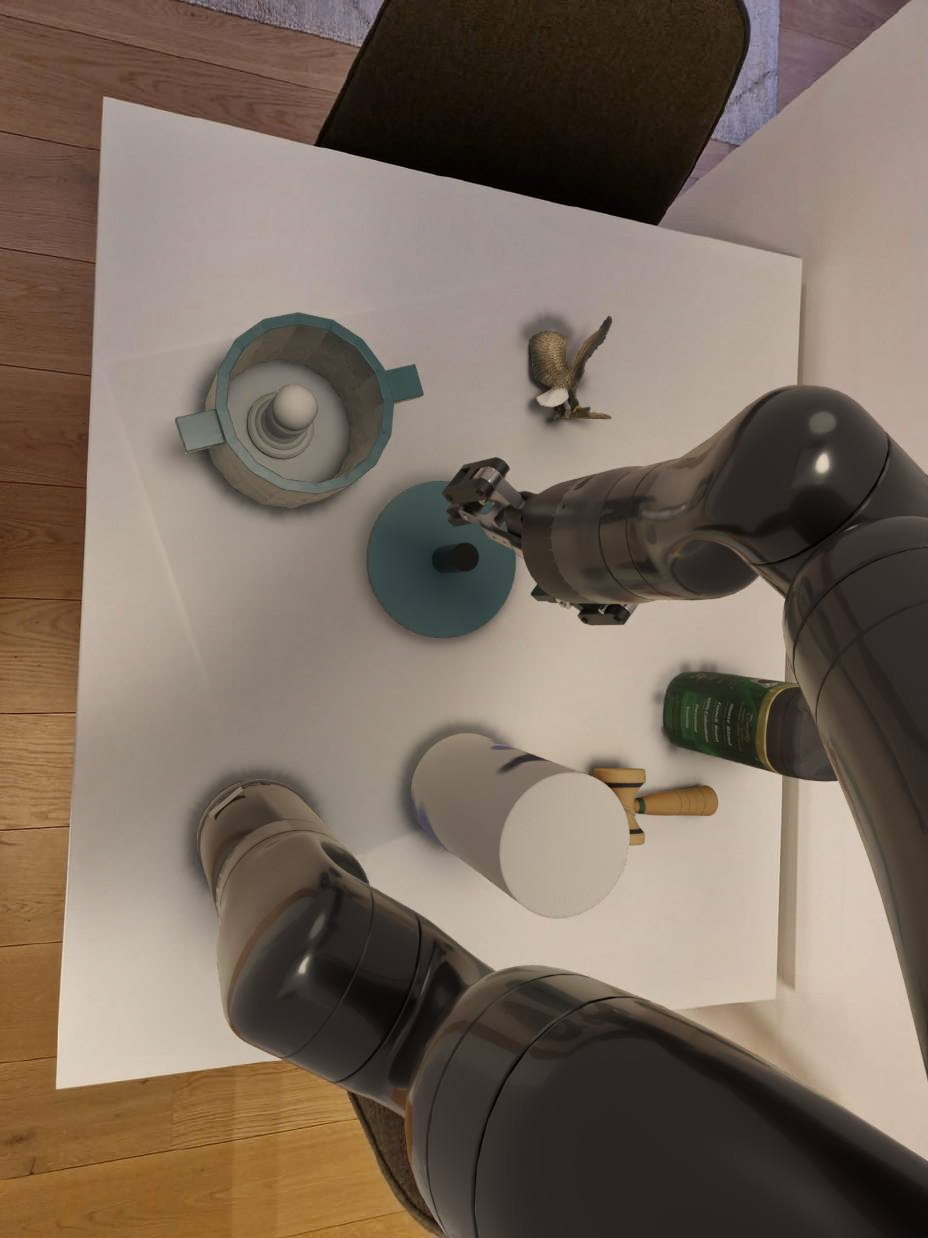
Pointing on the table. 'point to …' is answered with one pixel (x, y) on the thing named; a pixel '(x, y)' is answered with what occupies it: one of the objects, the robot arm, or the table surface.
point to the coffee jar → (746, 723)
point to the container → (523, 822)
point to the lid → (436, 565)
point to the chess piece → (283, 421)
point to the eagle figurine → (564, 370)
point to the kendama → (654, 798)
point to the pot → (332, 358)
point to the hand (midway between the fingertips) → (500, 550)
